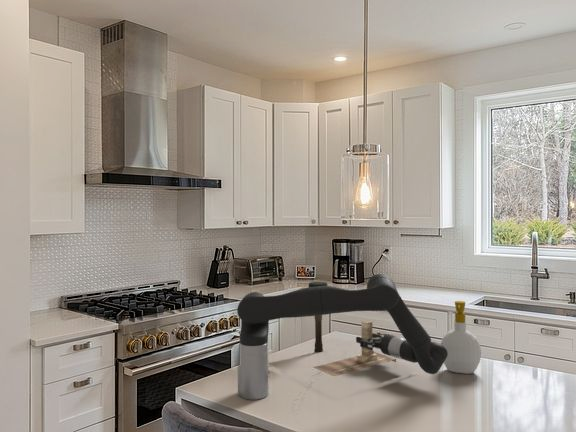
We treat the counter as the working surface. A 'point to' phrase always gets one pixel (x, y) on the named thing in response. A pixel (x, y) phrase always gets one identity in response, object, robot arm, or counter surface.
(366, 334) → the tan upright block
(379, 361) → the board
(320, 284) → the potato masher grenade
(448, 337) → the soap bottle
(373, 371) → the counter surface
